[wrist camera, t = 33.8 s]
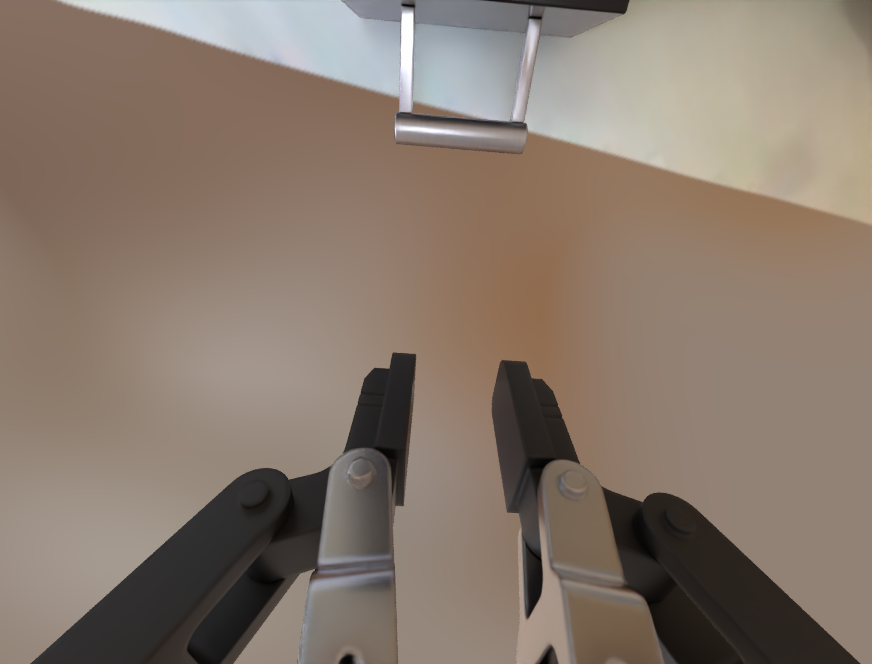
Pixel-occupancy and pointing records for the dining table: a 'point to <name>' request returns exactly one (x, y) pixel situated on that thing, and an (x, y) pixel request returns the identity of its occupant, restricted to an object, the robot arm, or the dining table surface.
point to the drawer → (491, 10)
